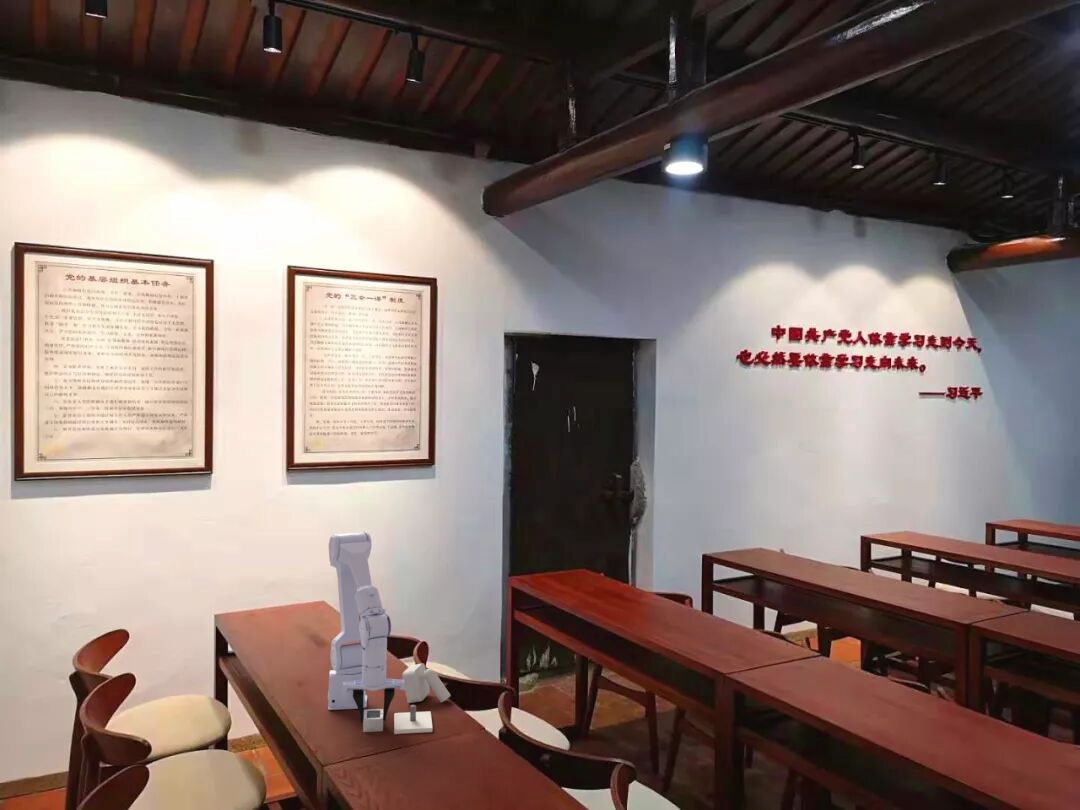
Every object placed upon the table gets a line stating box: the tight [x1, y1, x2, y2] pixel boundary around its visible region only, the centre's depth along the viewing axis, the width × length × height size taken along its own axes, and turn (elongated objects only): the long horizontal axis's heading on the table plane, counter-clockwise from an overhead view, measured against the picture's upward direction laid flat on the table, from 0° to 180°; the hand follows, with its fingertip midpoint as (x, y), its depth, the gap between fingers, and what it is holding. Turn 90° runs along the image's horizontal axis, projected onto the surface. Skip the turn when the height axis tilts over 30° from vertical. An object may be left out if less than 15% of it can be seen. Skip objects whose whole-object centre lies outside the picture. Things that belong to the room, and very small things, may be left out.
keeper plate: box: [393, 704, 433, 735], centre depth 198 cm, size 9×10×4 cm
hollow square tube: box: [362, 708, 384, 733], centre depth 196 cm, size 6×5×3 cm
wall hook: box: [401, 663, 451, 704], centre depth 213 cm, size 8×10×10 cm
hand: (373, 719), depth 196 cm, fingers closed on hollow square tube, 5 cm apart
